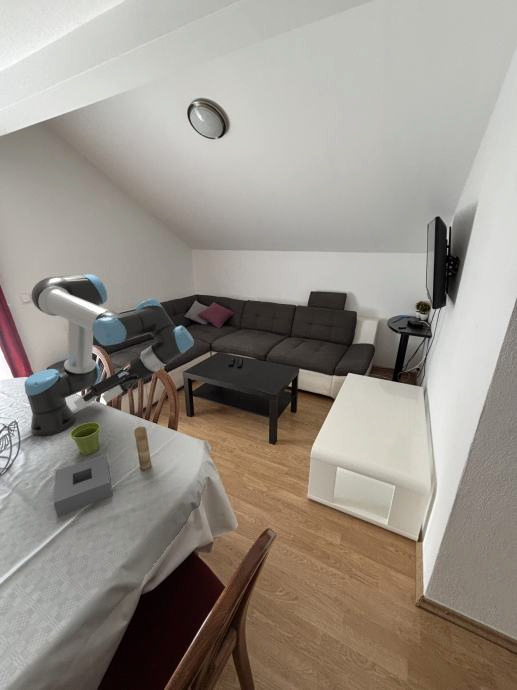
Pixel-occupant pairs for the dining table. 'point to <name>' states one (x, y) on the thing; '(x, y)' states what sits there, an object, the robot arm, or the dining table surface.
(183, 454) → the dining table surface
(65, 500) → the socket block
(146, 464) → the oak dowel
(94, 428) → the plant pot
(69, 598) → the dining table surface
